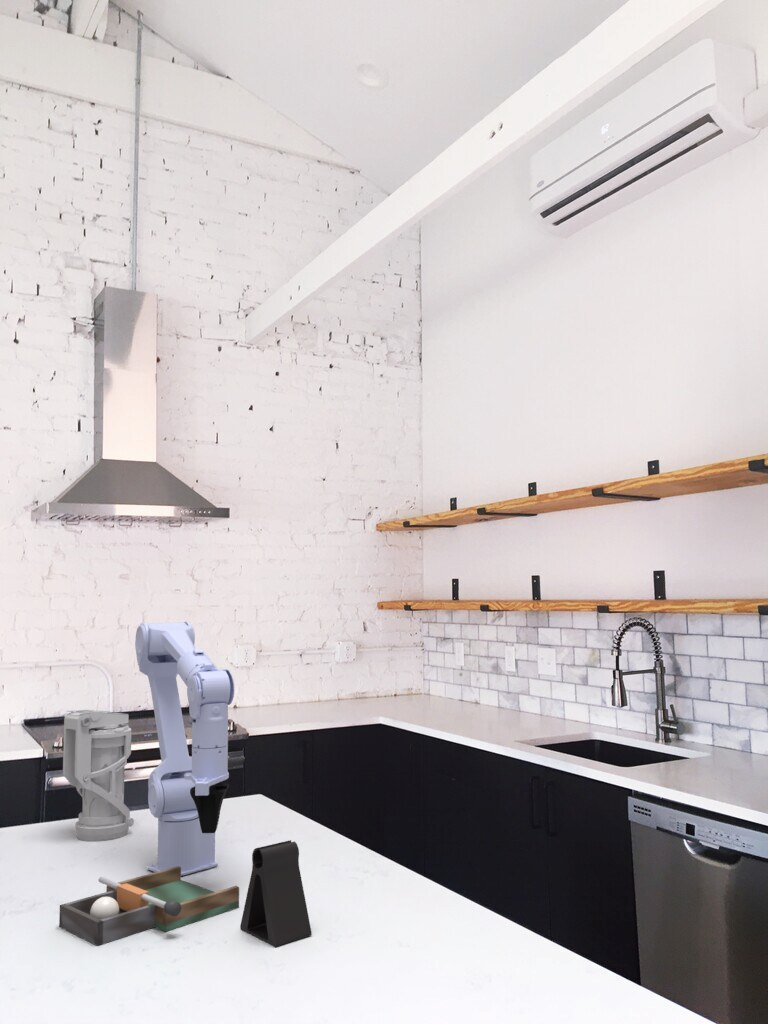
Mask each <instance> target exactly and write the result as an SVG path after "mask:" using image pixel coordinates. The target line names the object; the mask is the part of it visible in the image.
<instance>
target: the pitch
mask: <svg viewBox="0 0 768 1024" xmlns="http://www.w3.org/2000/svg"><path fill="white" fill-rule="evenodd" d="M117 883H119V884H121V885H122V884H125V883H127V884H130V885H133V886H135V887H138V888H140V889H143V890H145V891H148V892H149V896H152V897H154V898H157V899H159V900H162V901H164V902H167V901H168V900H173V901H175V902H178V903H180V904H181V911H180V913H179V914H178V915H177V916H171V915H169V914H166V913H165V912H164V908H162V907H160V906H157V905H155V904H152V903H150V902H149V905H147V906H144V907H141V908H137V909H134V910H131V911H125V910H123V909H121V908H119V914H118V915H114V916H111V917H108V918H104V919H101V920H100V919H98V918H95V917H93V916H91V915H90V910H91V907H92V905H93V904H94V902H95V901H96V900H98V899H99V898H101V897H111V898H113V899H115V900H116V901H117V889H115V888H113V887H110V886H108V885H106V892H102V893H98V894H95V895H91V896H88V897H84V898H80V899H77V900H74V901H70V902H69V901H68V902H66V903H63V904H59V922H58V923H59V925H58V927H59V928H61V929H63V930H65V931H67V932H70V933H71V934H73V935H75V936H77V937H79V938H80V939H83V940H85V941H88V942H89V943H91V944H93V945H95V946H101V945H105V944H107V943H110V942H114V941H116V940H119V939H120V940H121V939H122V938H126V937H128V936H131V935H135V934H138V933H141V932H144V931H148V930H149V929H153V928H156V929H158V930H161V931H162V932H165V933H166V932H169V931H172V930H176V929H178V928H182V927H184V926H186V925H189V924H193V923H197V922H199V921H202V920H205V919H208V918H211V917H214V916H217V915H220V914H223V913H226V912H229V911H232V910H235V909H238V908H239V907H240V886H239V885H234V886H231V887H227V888H224V889H221V890H217V891H214V890H211V889H208V888H205V887H203V886H199V885H197V884H194V883H191V882H189V881H185V880H182V876H181V867H179V866H177V867H173V868H170V869H166V870H162V871H159V872H152V873H148V874H144V875H140V876H137V877H134V878H133V877H132V878H129V879H126V880H122V881H119V882H117Z"/></svg>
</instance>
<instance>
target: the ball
mask: <svg viewBox="0 0 768 1024" xmlns="http://www.w3.org/2000/svg"><path fill="white" fill-rule="evenodd" d="M118 914H119V905H118V903H117V901H116V900H115V899H113V898H111V897H101V898H99V899H98V900H96V901H95V902H94V904H93V905H92V907H91V910H90V915H91V916H93V917H95V918H98V919H100V920H101V919H104V918H108V917H111V916H114V915H118Z"/></svg>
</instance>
